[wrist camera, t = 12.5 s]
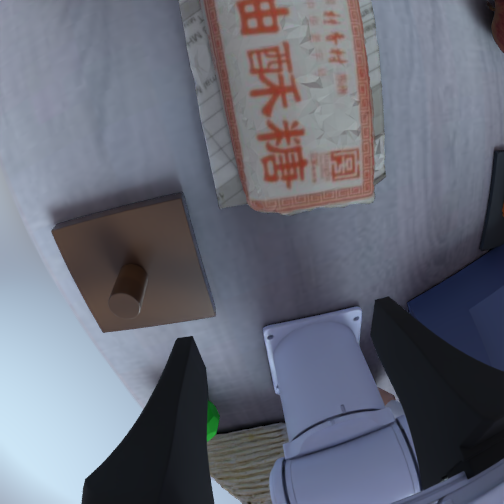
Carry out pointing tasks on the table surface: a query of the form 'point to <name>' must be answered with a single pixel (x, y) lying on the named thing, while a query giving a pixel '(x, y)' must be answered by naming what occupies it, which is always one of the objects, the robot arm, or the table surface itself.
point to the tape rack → (137, 264)
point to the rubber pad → (495, 207)
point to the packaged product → (288, 101)
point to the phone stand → (469, 309)
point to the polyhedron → (212, 420)
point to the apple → (498, 23)
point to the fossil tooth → (247, 461)
